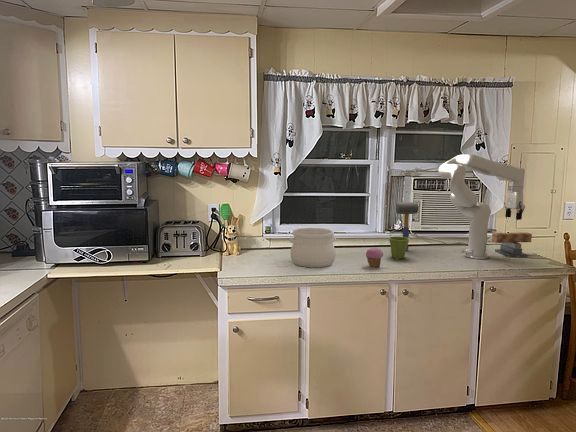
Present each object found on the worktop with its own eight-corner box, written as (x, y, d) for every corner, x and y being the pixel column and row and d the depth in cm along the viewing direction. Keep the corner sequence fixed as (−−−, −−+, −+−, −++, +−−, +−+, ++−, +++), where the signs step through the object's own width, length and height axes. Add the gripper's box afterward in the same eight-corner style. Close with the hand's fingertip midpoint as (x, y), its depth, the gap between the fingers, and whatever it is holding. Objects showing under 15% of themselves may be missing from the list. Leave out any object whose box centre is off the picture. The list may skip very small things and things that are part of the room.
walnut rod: (496, 242, 246) (497, 234, 246) (491, 241, 251) (492, 233, 250) (531, 242, 249) (531, 233, 248) (526, 240, 253) (526, 232, 253)
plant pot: (411, 260, 236) (412, 240, 234) (390, 260, 236) (391, 240, 234) (405, 255, 248) (406, 236, 246) (385, 255, 248) (386, 236, 246)
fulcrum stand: (509, 257, 244) (510, 244, 242) (494, 251, 257) (495, 239, 256) (527, 256, 245) (528, 244, 244) (511, 251, 259) (512, 239, 258)
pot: (296, 270, 214) (296, 236, 211) (283, 259, 237) (284, 228, 235) (343, 267, 221) (344, 234, 218) (327, 256, 244) (327, 226, 241)
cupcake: (385, 266, 223) (386, 247, 221) (376, 269, 217) (377, 250, 215) (371, 263, 229) (372, 245, 227) (362, 266, 223) (362, 247, 221)
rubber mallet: (412, 248, 264) (415, 201, 260) (417, 251, 257) (419, 202, 252) (393, 249, 263) (395, 201, 259) (397, 251, 256) (399, 202, 251)
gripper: (500, 188, 254) (498, 216, 256) (519, 190, 237) (516, 220, 239) (512, 188, 254) (509, 216, 257) (532, 190, 237) (529, 220, 240)
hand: (513, 218), depth 248 cm, fingers open, 9 cm apart
